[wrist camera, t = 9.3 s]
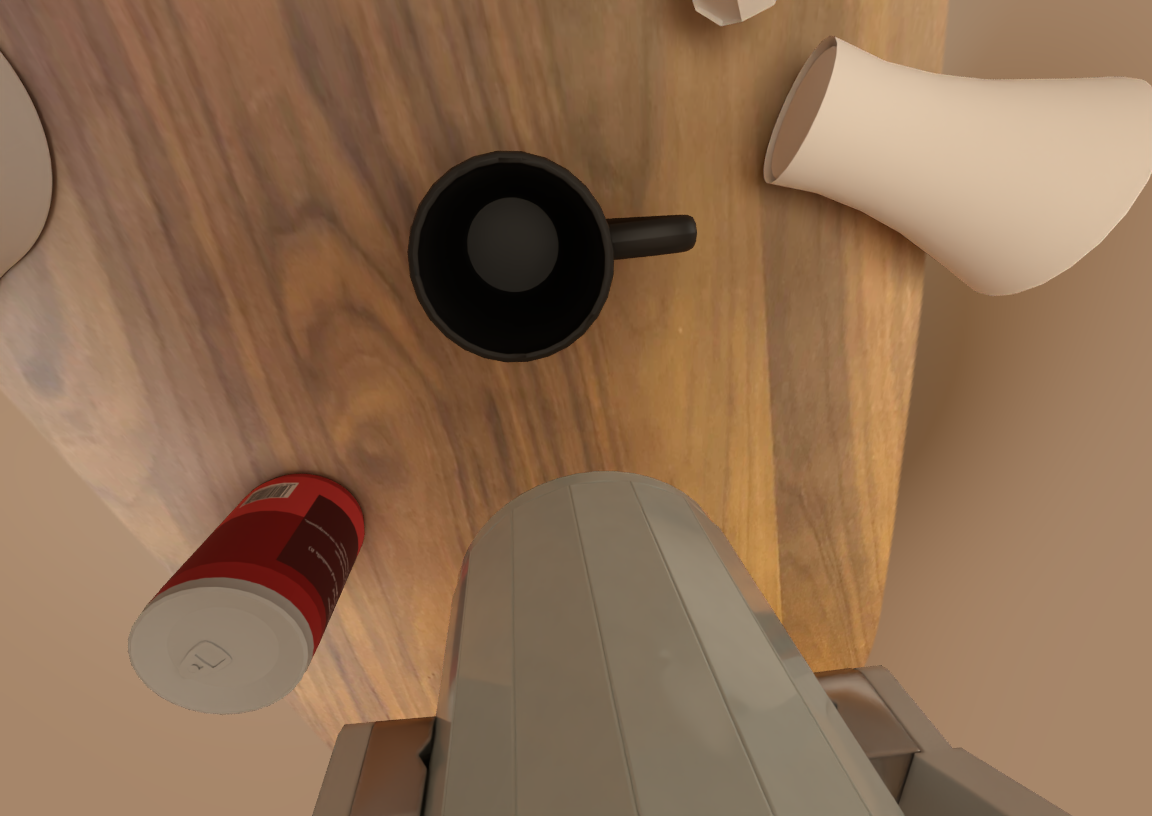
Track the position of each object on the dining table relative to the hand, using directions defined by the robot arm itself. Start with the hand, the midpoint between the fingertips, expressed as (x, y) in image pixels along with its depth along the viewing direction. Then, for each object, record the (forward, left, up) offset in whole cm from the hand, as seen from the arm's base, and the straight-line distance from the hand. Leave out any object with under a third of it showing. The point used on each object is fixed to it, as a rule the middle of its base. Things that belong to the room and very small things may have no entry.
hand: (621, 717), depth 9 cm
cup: (+12, +12, -22) cm, 28 cm away
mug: (0, +6, -25) cm, 26 cm away
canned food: (-16, -11, -25) cm, 31 cm away
